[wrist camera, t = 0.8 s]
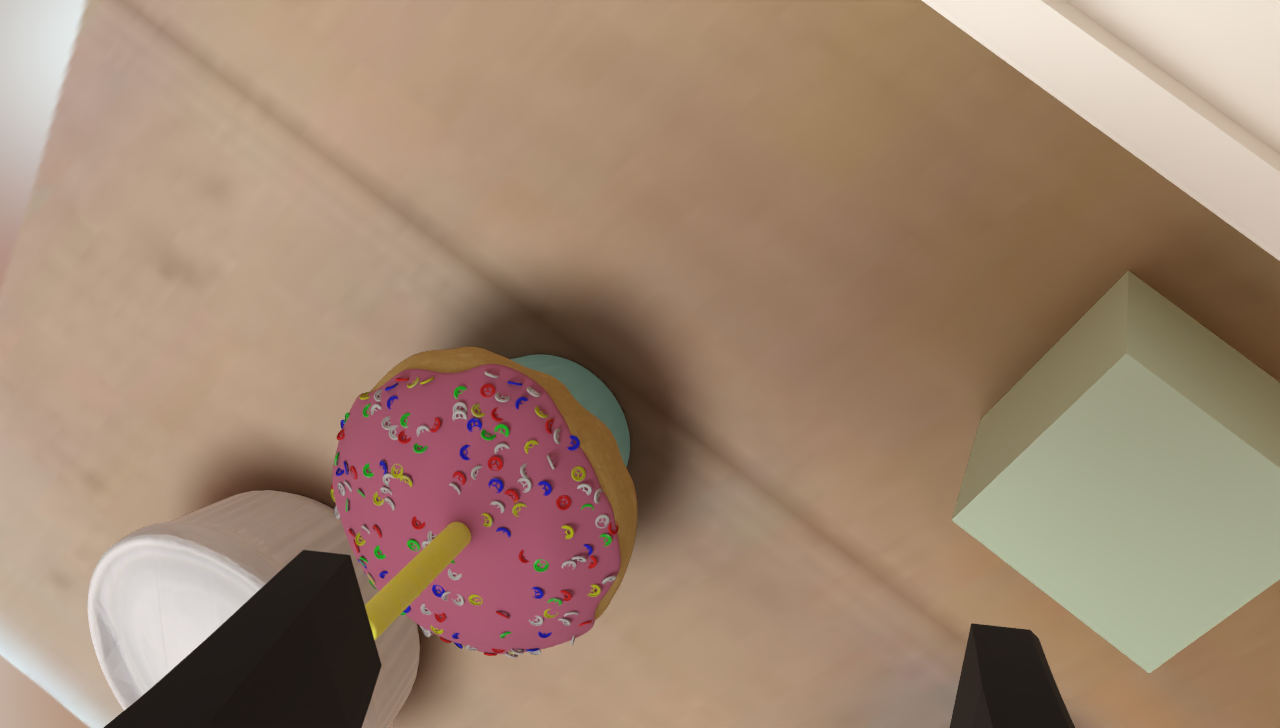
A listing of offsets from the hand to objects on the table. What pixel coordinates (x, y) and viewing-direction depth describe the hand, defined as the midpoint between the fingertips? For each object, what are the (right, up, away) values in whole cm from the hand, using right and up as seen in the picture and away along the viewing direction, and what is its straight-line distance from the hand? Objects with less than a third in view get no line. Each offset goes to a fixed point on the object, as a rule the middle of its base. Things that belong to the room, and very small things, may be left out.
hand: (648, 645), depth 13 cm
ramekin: (-12, -5, +27) cm, 30 cm away
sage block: (+12, +2, +12) cm, 17 cm away
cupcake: (-2, +1, +19) cm, 20 cm away
